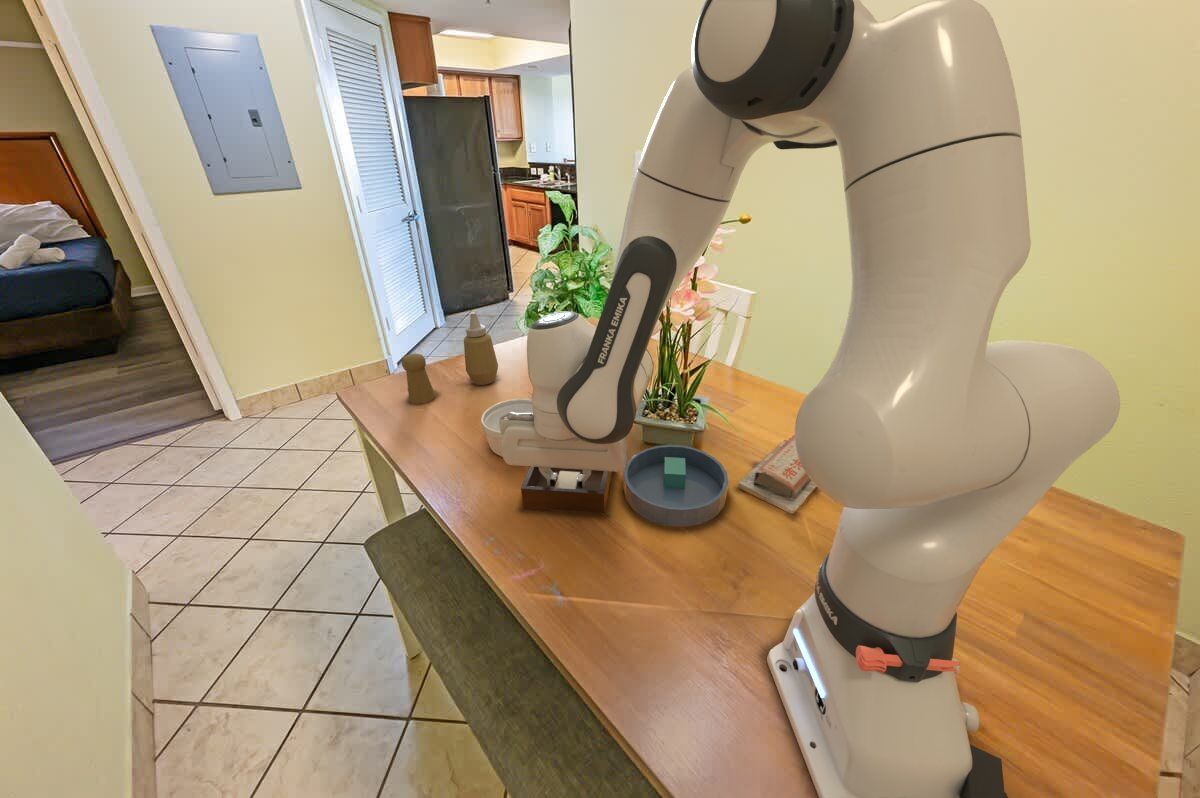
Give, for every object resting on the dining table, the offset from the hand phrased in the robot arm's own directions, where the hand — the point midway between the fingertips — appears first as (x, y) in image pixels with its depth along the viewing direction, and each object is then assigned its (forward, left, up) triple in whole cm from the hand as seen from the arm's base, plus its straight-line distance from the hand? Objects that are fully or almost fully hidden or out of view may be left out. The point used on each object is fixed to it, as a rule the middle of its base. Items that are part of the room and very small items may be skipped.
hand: (567, 485), depth 80 cm
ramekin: (+15, +13, -3) cm, 20 cm away
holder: (+3, 0, -3) cm, 4 cm away
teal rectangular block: (+6, -18, -2) cm, 19 cm away
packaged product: (+9, -38, -3) cm, 39 cm away
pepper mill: (+32, +42, -3) cm, 53 cm away
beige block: (0, 0, -2) cm, 2 cm away
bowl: (+3, -18, -3) cm, 18 cm away
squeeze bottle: (+42, +30, -3) cm, 52 cm away
